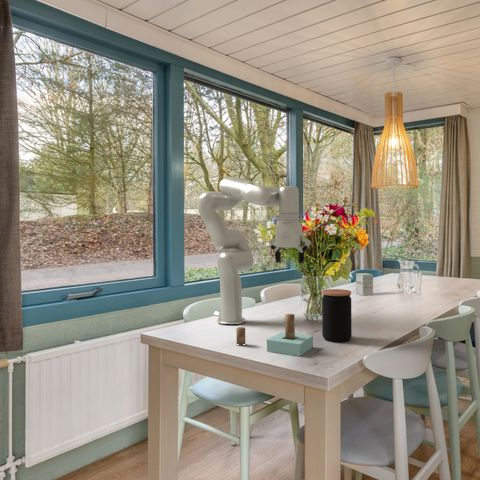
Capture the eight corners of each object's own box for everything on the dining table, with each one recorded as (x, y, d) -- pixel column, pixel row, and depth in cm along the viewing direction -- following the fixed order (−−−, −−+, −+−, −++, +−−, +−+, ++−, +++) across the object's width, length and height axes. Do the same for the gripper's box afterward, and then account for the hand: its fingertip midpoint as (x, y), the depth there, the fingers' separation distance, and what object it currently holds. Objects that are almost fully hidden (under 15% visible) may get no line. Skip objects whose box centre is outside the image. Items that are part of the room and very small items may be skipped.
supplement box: (355, 294, 263) (355, 273, 263) (366, 293, 266) (366, 272, 265) (362, 296, 256) (362, 274, 256) (373, 295, 259) (373, 274, 258)
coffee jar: (347, 335, 168) (346, 288, 168) (355, 342, 158) (355, 293, 157) (319, 335, 168) (319, 289, 167) (326, 343, 157) (325, 293, 157)
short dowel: (235, 345, 157) (234, 328, 157) (239, 343, 160) (238, 326, 160) (243, 346, 155) (242, 329, 155) (246, 344, 158) (246, 327, 158)
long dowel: (284, 349, 150) (283, 315, 150) (287, 347, 153) (287, 313, 153) (292, 351, 149) (292, 316, 148) (296, 348, 151) (295, 314, 151)
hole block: (266, 351, 149) (266, 339, 149) (281, 342, 159) (281, 331, 159) (299, 356, 143) (299, 344, 143) (313, 347, 153) (312, 335, 153)
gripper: (264, 218, 170) (265, 262, 171) (306, 217, 161) (306, 264, 162) (273, 218, 176) (273, 261, 177) (313, 218, 168) (314, 262, 168)
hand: (289, 262), depth 169 cm, fingers open, 9 cm apart
